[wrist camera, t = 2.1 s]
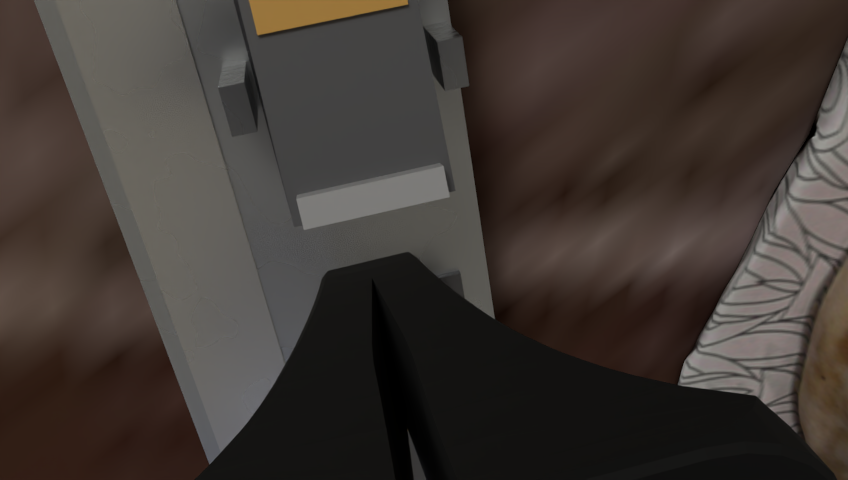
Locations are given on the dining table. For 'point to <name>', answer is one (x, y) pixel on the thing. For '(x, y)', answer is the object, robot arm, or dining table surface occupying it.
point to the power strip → (236, 191)
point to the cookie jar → (793, 296)
